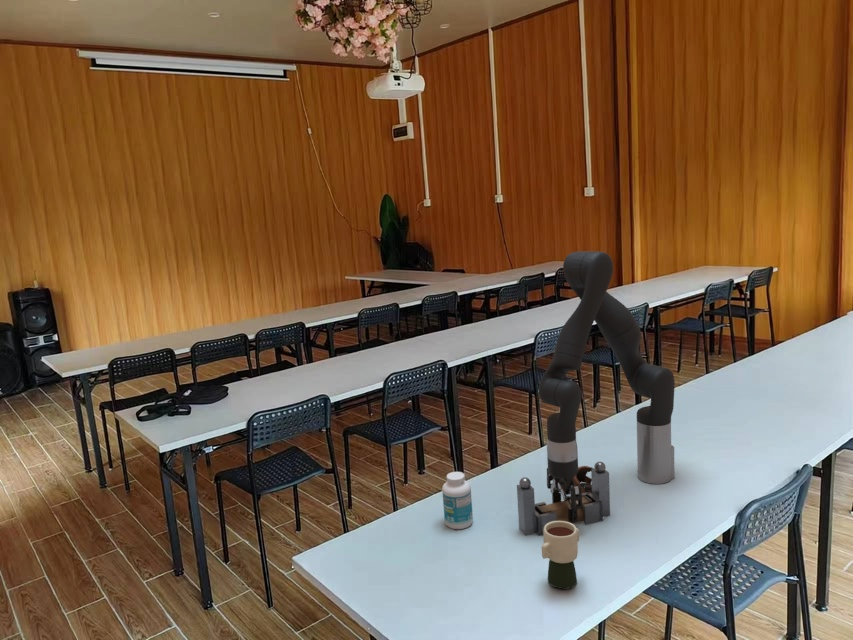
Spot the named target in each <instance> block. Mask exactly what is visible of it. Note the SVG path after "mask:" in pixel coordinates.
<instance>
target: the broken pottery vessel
mask: <svg viewBox="0 0 853 640" xmlns="http://www.w3.org/2000/svg"><path fill="white" fill-rule="evenodd" d="M591 469H594V467H592V466H588V465H582V466H578V473H577V474H576V475H575V476H574V478H573V479H574V483H575V485H576V486H578V485H580V486H581V483H585V484H583V486H584V487H583V486H581V491H582V493H586V492H590V493H591V494H592V477H589V476H588V475H587V474H588V473H589V472H591Z"/></svg>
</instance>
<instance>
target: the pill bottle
mask: <svg viewBox="0 0 853 640" xmlns="http://www.w3.org/2000/svg"><path fill="white" fill-rule="evenodd" d="M465 477H466V476H465V473H464V472H462V471H452V472H449V473H447V474H446V482H444V483H443V484H442V488H441V490H442V502H443V503H442V504H443V505H442V506H443V513H444V514H443V518H444V523H445V525H446V527H448V528H450V529H452V530H464V529H466V528H468V527H470V526H472V524H473V520H474V519H473V518H474V516H473V504H472V503H473V502H472V500H473V499H472V487H471V485H470V483H469V482H468V481H467V480H466V478H465Z"/></svg>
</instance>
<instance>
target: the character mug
mask: <svg viewBox="0 0 853 640" xmlns="http://www.w3.org/2000/svg"><path fill="white" fill-rule="evenodd" d="M543 532H544V535H543V544H541V556H542V559H548V560H549V561H548V570H547V583H548V584H550V586H553V587H555V588H558V589H559V588H560V589H572V588H574V587H575V586H576V585H577V583H578V578H577V571H576V567H575V566H576V565H575V562H574V561H576V560H577V558H578V553H579V548H578V547H579V545H578V543H579V542H580V530H579V528H577V527H576V525H575V524H572V523H569V522H566V521H552V522H549V523H547V524H546V525H545V526H544V530H543Z"/></svg>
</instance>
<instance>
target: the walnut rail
mask: <svg viewBox="0 0 853 640" xmlns="http://www.w3.org/2000/svg"><path fill="white" fill-rule="evenodd" d="M570 503H571V500H570ZM589 503H592V500H591V499H589V498H588V497H587V496H586V495H584V496H583V497H582V506H583V505H585V504H589ZM536 511H537V512H538V513H539V514H540V515H541V514H545V513H550V512H556V518H557V521H566V522H569V520H568V506H567V503H566V501H564V500H561V502H557V503H549V504H546V505H543V506H536ZM577 513H578V521H577V522H574V523H572V524H573V525H575V524H577V523H578V524H579V523H582V522H583V523H584V520H583V508H582V509H578V510H577ZM569 523H570V522H569Z"/></svg>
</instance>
